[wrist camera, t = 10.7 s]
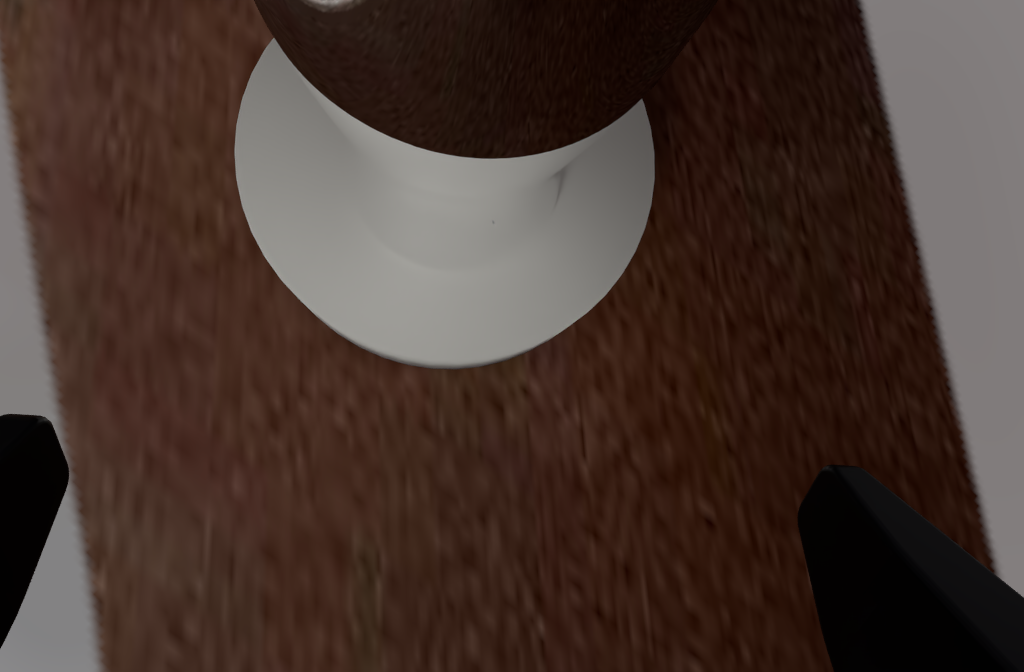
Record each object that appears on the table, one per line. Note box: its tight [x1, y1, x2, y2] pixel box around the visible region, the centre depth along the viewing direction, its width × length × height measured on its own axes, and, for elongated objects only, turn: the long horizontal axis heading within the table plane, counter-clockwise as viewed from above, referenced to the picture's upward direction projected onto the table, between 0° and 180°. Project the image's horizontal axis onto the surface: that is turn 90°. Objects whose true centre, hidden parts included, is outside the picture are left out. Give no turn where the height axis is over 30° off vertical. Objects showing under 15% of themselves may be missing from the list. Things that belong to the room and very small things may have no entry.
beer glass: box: [254, 0, 718, 273], centre depth 12 cm, size 7×7×15 cm
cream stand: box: [235, 38, 655, 369], centre depth 21 cm, size 12×12×3 cm
